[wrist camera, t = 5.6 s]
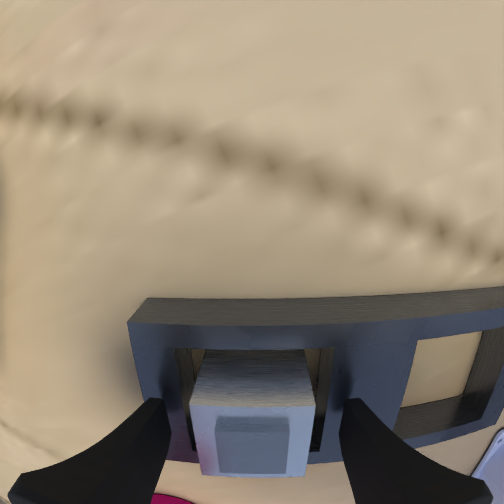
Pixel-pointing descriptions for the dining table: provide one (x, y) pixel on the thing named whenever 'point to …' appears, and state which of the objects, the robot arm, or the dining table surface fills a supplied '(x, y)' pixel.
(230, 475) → the grey metal block
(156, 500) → the pepper mill
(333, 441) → the blue-grey frame board
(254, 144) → the dining table surface
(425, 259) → the dining table surface
